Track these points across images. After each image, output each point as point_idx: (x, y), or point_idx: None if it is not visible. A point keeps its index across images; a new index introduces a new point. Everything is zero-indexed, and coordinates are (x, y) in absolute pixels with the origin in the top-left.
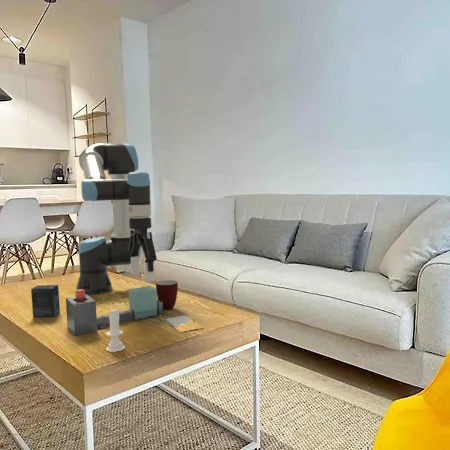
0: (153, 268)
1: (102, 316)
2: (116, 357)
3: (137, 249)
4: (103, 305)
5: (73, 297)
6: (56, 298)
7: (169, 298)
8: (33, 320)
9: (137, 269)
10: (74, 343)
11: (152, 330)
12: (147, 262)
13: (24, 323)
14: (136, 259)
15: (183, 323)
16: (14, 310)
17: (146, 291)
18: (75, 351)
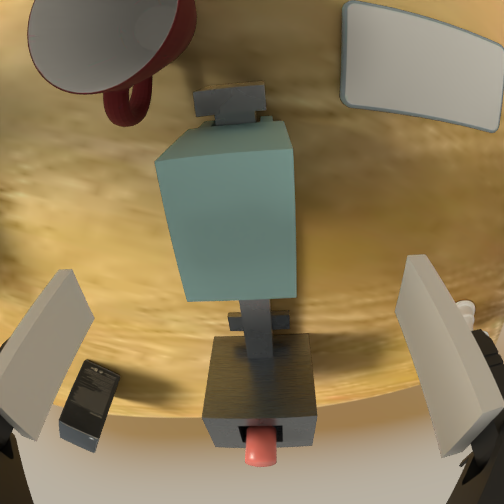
0: (472, 340)
1: (257, 334)
2: (488, 320)
3: (3, 501)
4: (34, 259)
5: (223, 439)
6: (87, 401)
7: (195, 19)
8: (137, 401)
9: (57, 310)
10: (357, 375)
11: (420, 197)
12: (468, 442)
13: (154, 412)
14: (15, 389)
15: (441, 72)
16: (61, 399)
17: (294, 226)
18: (402, 374)
